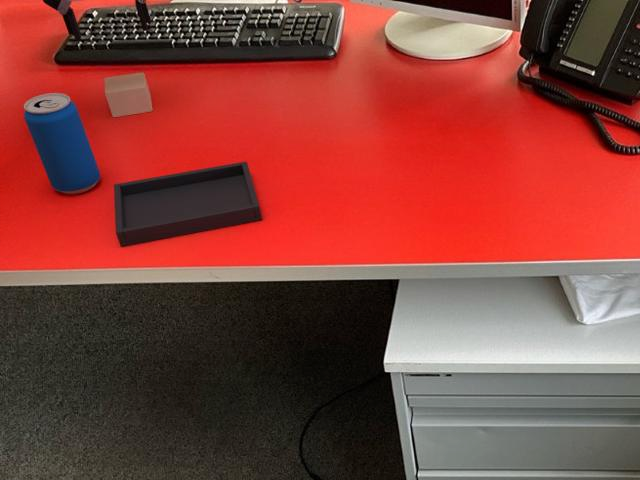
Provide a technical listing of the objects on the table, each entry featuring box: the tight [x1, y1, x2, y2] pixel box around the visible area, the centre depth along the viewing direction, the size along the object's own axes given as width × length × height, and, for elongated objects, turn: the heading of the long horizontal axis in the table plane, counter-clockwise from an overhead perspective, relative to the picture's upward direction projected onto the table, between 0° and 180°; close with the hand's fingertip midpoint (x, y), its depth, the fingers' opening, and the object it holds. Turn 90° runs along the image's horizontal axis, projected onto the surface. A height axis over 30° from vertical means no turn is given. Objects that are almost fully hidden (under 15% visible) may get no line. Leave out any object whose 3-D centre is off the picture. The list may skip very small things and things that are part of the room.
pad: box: [103, 71, 154, 118], centre depth 140 cm, size 6×6×4 cm
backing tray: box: [113, 161, 263, 247], centre depth 117 cm, size 18×13×2 cm
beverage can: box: [23, 92, 102, 195], centre depth 119 cm, size 6×6×12 cm
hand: (112, 32), depth 134 cm, fingers open, 9 cm apart
